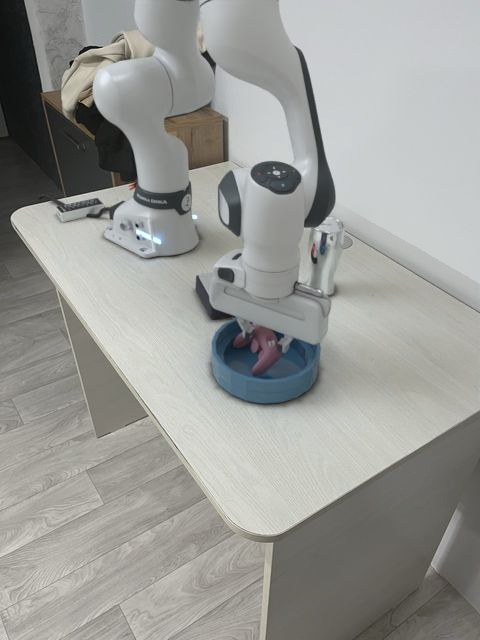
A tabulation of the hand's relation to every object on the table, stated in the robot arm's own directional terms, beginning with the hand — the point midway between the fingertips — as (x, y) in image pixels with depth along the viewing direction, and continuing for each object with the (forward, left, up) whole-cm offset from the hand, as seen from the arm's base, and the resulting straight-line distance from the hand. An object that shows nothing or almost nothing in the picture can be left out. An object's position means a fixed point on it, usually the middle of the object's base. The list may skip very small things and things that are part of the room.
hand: (265, 343), depth 91 cm
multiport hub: (-67, +28, -6) cm, 73 cm away
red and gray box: (-14, +16, -5) cm, 22 cm away
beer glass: (-1, +28, -5) cm, 28 cm away
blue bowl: (0, 0, -5) cm, 5 cm away
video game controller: (-2, +1, -5) cm, 5 cm away
